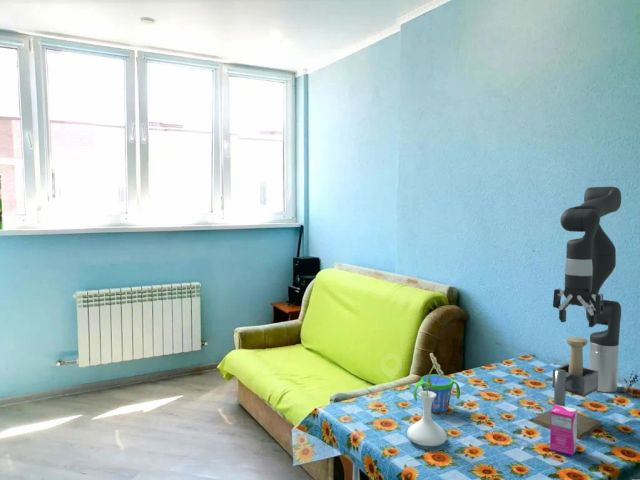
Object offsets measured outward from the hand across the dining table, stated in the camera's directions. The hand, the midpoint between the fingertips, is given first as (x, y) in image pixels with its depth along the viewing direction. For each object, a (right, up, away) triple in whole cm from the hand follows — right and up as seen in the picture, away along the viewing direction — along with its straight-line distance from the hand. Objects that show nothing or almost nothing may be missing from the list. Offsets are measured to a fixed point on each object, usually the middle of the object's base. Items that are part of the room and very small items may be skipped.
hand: (576, 324), depth 149 cm
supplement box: (-13, -32, -17) cm, 39 cm away
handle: (0, -20, +1) cm, 20 cm away
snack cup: (-42, -31, +10) cm, 53 cm away
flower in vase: (-49, -32, -11) cm, 60 cm away
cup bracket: (-3, -31, 0) cm, 31 cm away
